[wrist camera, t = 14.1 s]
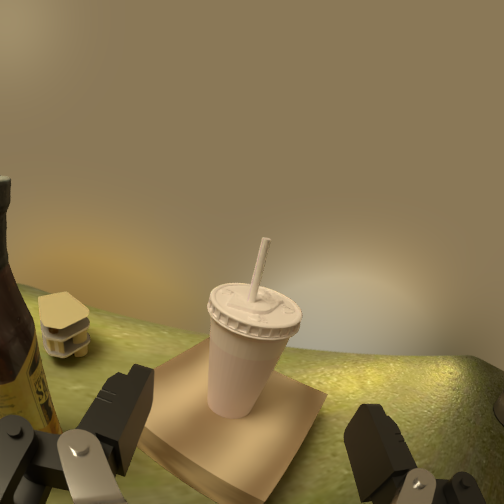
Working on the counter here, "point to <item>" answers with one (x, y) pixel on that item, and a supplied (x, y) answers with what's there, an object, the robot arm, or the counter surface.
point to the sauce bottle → (20, 346)
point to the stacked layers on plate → (64, 325)
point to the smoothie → (246, 340)
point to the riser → (225, 431)
